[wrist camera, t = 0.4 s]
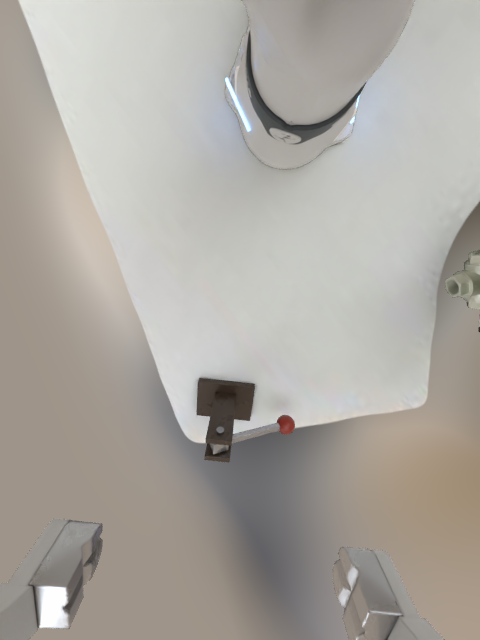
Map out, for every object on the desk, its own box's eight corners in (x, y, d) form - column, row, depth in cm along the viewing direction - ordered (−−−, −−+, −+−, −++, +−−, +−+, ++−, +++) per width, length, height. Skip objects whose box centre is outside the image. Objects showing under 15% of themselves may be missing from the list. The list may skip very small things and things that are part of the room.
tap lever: (289, 409, 52) (299, 422, 49) (286, 423, 53) (296, 436, 50) (209, 428, 45) (215, 445, 42) (208, 443, 46) (213, 460, 43)
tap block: (254, 383, 54) (255, 435, 41) (249, 416, 58) (249, 472, 45) (199, 377, 54) (183, 427, 41) (197, 410, 57) (182, 465, 45)
